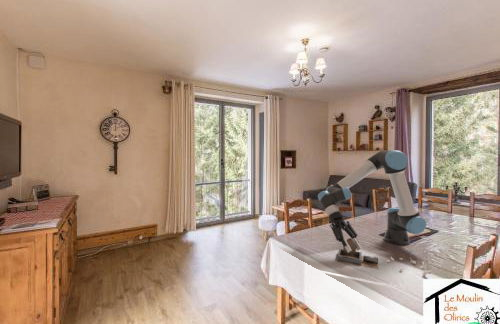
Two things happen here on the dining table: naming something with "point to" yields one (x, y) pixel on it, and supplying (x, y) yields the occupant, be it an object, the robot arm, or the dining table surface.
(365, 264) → the flange board
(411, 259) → the game piece set
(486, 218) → the dining table surface
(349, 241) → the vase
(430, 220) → the dining table surface
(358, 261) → the grey tray board
